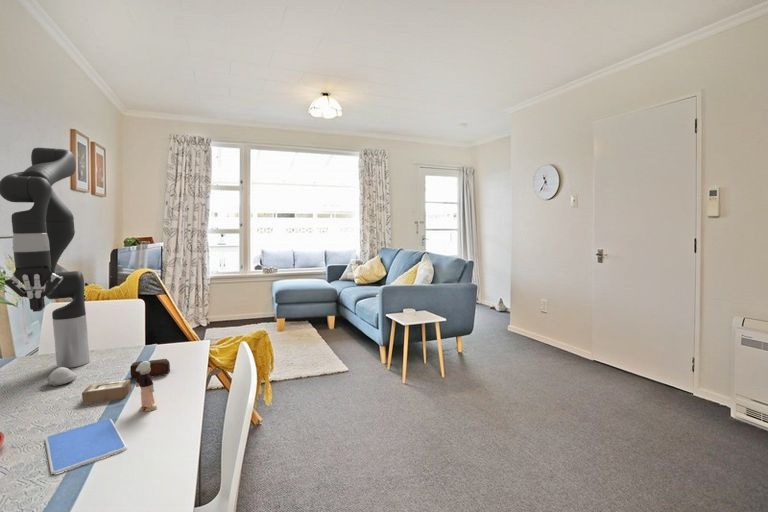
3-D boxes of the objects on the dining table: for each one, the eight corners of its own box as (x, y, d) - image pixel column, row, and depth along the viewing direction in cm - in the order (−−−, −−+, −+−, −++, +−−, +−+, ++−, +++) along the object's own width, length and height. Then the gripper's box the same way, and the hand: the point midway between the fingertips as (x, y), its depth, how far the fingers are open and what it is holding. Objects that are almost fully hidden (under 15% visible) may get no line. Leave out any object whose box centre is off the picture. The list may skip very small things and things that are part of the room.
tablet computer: (45, 441, 89) (44, 435, 89) (111, 421, 97) (111, 416, 97) (51, 479, 75) (50, 473, 75) (128, 452, 84) (128, 446, 83)
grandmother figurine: (164, 406, 104) (161, 360, 103) (151, 413, 100) (148, 365, 99) (143, 403, 106) (139, 357, 105) (129, 409, 103) (126, 362, 102)
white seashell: (39, 385, 121) (37, 370, 120) (68, 376, 128) (67, 361, 128) (56, 389, 118) (55, 373, 117) (85, 379, 125) (84, 364, 125)
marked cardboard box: (89, 384, 112) (130, 379, 115) (90, 396, 112) (131, 390, 116) (81, 392, 106) (124, 386, 110) (82, 405, 107) (125, 398, 110)
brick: (130, 380, 123) (129, 366, 123) (133, 376, 127) (132, 362, 127) (168, 375, 127) (167, 361, 127) (170, 371, 131) (169, 357, 131)
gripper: (66, 247, 114) (71, 306, 116) (8, 249, 109) (15, 310, 111) (55, 249, 107) (61, 311, 109) (-7, 251, 102) (0, 316, 104)
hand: (37, 310), depth 110 cm, fingers closed
